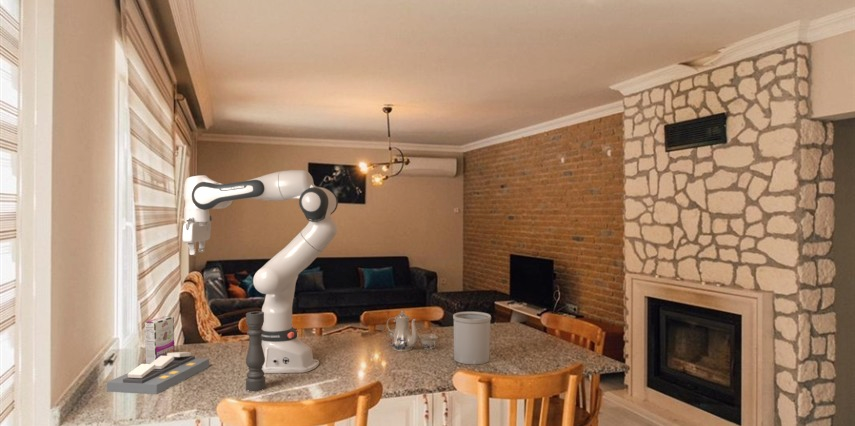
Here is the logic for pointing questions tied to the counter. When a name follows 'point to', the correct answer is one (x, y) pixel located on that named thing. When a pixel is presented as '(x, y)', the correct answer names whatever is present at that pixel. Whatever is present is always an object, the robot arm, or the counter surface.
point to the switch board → (159, 376)
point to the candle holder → (255, 352)
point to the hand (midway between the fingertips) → (197, 253)
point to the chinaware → (408, 335)
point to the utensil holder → (471, 337)
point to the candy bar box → (159, 338)
